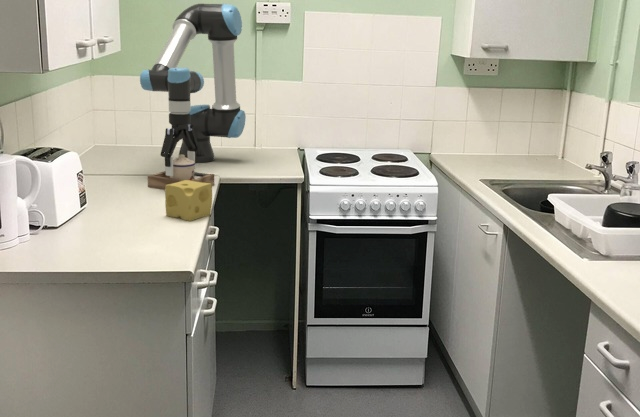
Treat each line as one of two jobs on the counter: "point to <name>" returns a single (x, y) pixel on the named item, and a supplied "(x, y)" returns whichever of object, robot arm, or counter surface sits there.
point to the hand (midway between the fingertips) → (180, 172)
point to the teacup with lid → (183, 168)
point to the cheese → (188, 199)
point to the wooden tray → (162, 179)
